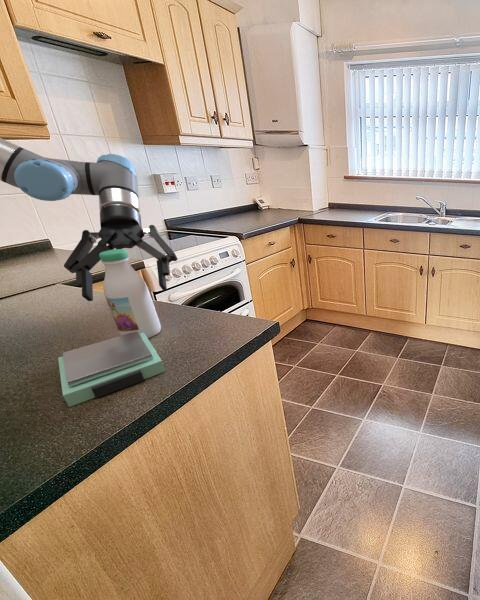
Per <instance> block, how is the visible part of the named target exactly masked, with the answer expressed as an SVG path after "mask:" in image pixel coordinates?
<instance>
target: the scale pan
mask: <svg viewBox="0 0 480 600" xmlns="http://www.w3.org/2000/svg"><path fill="white" fill-rule="evenodd" d="M62 356H63V359H64V365H65V372H66V378H67V383H68V385H69V387H71V386H74V385H77V384H80V383H83V382H86V381H88V380H91V379H94V378H97V377H100V376H103V375H106V374H109V373H112V372H115V371H118V370H121V369H123V368H126V367H129V366H132V365H135V364H138V363H141V362H144V361H147V360H150V359H153V356H152V354H151V352H150V351H149V349H148V347H147V346H146V344H145V342H144V341H143V339H142V337H141V336H140V334H139V332H138V331H136V332H133V333H129V334H126V335H122V336H120V335H119V336H116V337H113V338H109V339H106V340H102V341H99V342H95V343H91V344H88V345H85V346H81V347H78V348H74V349H71V350H67V351H64V352H62Z"/></svg>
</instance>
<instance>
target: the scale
mask: <svg viewBox="0 0 480 600" xmlns="http://www.w3.org/2000/svg"><path fill="white" fill-rule="evenodd" d="M140 336H141V337H142V339H143V341H144V342H145V344H146V346H147V347H148V349H149V351H150V352H151V354H152V356H153V359H150V360H147V361H144V362H141V363H138V364H135V365H132V366H129V367H126V368H123V369H121V370H118V371H115V372H112V373H109V374H106V375H103V376H100V377H97V378H94V379H91V380H88V381H86V382H83V383H80V384H77V385H74V386H71V387H69V385H68V383H67V378H66V372H65V365H64V359H63V355H62V356H58V357H57V360H58V361H57V362H58V370H59V375H60V377H59V378H60V385H61V391H62V397H63V399H64V401H65V403H66V405H67V407H68V408H71V407H74V406H76V405H79V404H81V403H84V402H87V401H89V400H93V399H98V398H101V397H103V396H107V395H109V394H112V393H114V392H118V391H120V390H122V389H125V388H128V387H132V386H133V385H135V384H139V383H141V382H144V381H145V380H146V379H150V378H151V377H154V376H157V375H160V374H162V373H165V372H166V369H165V366H164V363H163V360H162V359H161V357H160V355H159V354H158V353H157V351H156V349H155V347H154V346H153V344H152V343H151V341H150V340H149V338H147V337H146V335H145V333H144V332H143V333H140Z"/></svg>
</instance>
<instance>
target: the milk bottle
mask: <svg viewBox="0 0 480 600" xmlns="http://www.w3.org/2000/svg"><path fill="white" fill-rule="evenodd" d="M99 257H100V259H101V260H100V261H101V264H102V265H103V266H104V279H103V293H104V297H105V300H106V303H107V305H108V308H109V311H110V314H111V316H112V318H113V320H114V323H115V326H116V329H117V331H118V333H119V336H122V335H126V334H129V333H133V332H136V331H138V332H139V334H140V333H143V332H144V333H145V335H146V337H147V338H148V339H150V338H153V337H154V336H156V335H158V334H159V333H160V332H161V330H162V325H161V322H160V319H159V316H158V312H157V310H156V307H155V304H154V301H153V299H152V296H151V293H150V289H149V287H148V285H147V283H146V281H145V279H144V278H143V277H142V276H141V274H139V272H137V271H136V270H135V269H134V268H133V266H132V265H131V264H130V261H129V260H130V258H129V254H128V252H127V250H126V249H125V248H123V249H115V248H114V249H113V250H108V251H104V252H101V253H100V254H99Z"/></svg>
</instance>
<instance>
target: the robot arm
mask: <svg viewBox="0 0 480 600" xmlns="http://www.w3.org/2000/svg"><path fill="white" fill-rule="evenodd" d="M0 181H1V182H3V183H6V184H8V185H10V186H12V187H15V188H17V189H20V190H21V191H22V192H23V193H24V194H26V195H27V196H29V197H31V198H32V199H36V200H39V201H45V202H58V201H61V200H62V201H63V200H65V199H66V198H68V197H70V196H71V195H82V196H83V195H84V196H98V199H99V200H98V204H99V205H98V206H99V224H100V229H99V231H98V232H97V231H95V232H93V231H92V232H91V231H90V230H88V229H84V230H83V231H82V232H81V239H80V240H79V242H78V243H77V245H76V246H75V247H74V248H73V251H72V252H71V253H70V255H69V256H68V258H67V259H66V261H65V262H64V264H63V267H64V268H65V269H66V270H67V271H69V273H71V274H75V281H76V282H75V283H76V284H77V285H78V286H79V287H80V288H81V296H82V298H83V299H85V300H86V301H88V302H93V301H94V290H93V287H94V286H93V274H92V273H91V272H90V271H91V270H92V269H93V268H94V267H95V266H97V264H98V263H99V262H100V261H101V259H100V257H99V254H100V253H101V252H104V251H108V250H115V249H133V248H134V247H138V248H139V249H140V250H143V251H144V252H146V253H147V254H149V255H150V256H152V257H153V258H154V259H156V269H157V277H158V286H159V287H160V288H161V290H162V291H167V290H168V287H167V280H166V276H170V275H171V269H170V263H171V262H177V261H178V259H179V258H178V257H177V255H176V253H175V252H174V250H173V249H172V248H171V247H170V246H169V245H168V243H167V242H166V241H165V240H164V239H163V238H162V237H161V235H160V233H159V231H158V228H157V227H156V226H155V225H154V224H149V226H148V227H144V228H143V227H142V217H141V207H140V205H141V204H140V199H139V198H140V196H139V186H138V184H139V183H138V176H137V171H136V167H135V164H133V162H132V161H131V160H129V159H128V158H126V157H125V156H122V155H119V154H115V153H107V154H102V155H100V156H99V157H98V158H97V160H96V162H91V161H86V162H85V161H78V160H69V159H59V158H50V157H45V156H42V155H39V154H38V153H35V152H33V151H32V150H31V151H30V150H28V149H26V148H23V147H22V146H19V145H17V144H15V143H13V142H11V141H8V140H6V139H4V138H2V137H0ZM145 235H147V236H148V237H150V238H153V240H154V241H155V242H156V243H157V244H158V246H159V247H160V248H161V250H163V252H164V253H162V252H161V251H159V250H158V249H157V248H155V247H153V245H151V244H149V243H147V242H146V241H145V240H143V238H144V237H145ZM98 239H100V240H99V241H98ZM97 241H98V242H97ZM96 243H97V244H96ZM94 244H96V246H94ZM93 247H94V248H93Z"/></svg>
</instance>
